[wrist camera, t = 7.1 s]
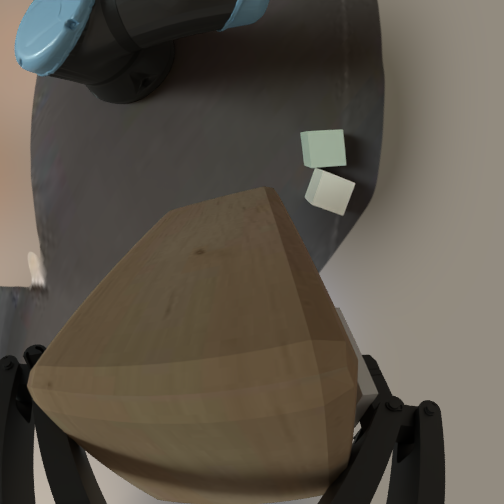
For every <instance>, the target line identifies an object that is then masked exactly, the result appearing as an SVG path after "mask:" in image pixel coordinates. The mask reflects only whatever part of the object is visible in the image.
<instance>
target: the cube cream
mask: <svg viewBox="0 0 504 504" xmlns="http://www.w3.org/2000/svg"><path fill="white" fill-rule="evenodd" d="M354 186H355V183H353V182H351V181H349V180H346V179H344V178H341V177H339V176H336V175H334V174H331V173H329V172H326V171H323V170H321V169H318V168H315V170H314V172H313V175H312V178H311V181H310V184H309V187H308V189H307V192H306V195H305V199H306V200H307V201H308V202H309V203H310V204H311V205H314V206H317V207H320V208H323V209H326V210H328V211H331V212H334V213H337V214H339V215H342V216H343V215H344V212H345V210H346V207H347V204H348V202H349V199H350V197H351V194H352V191H353V189H354Z"/></svg>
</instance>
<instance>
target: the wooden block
mask: <svg viewBox="0 0 504 504" xmlns="http://www.w3.org/2000/svg"><path fill="white" fill-rule="evenodd" d="M357 381H358V358H357V356H356V353H355V351H354V349H353V347H352V344H351V342H350V340H349V337H348V335H347V333H346V331H345V329H344V326H343V324H342V322H341V320H340V318H339V315H338V313H337V311H336V309H335V307H334V305H333V302H332V300H331V298H330V296H329V294H328V292H327V290H326V288H325V286H324V283H323V281H322V280H321V277H320V275H319V273H318V271H317V269H316V267H315V265H314V263H313V261H312V259H311V257H310V255H309V253H308V251H307V249H306V247H305V245H304V243H303V241H302V239H301V237H300V235H299V233H298V231H297V229H296V227H295V226H294V224H293V222H292V220H291V218H290V216H289V214H288V212H287V210H286V208H285V207H284V205H283V203H282V201H281V199H280V197H279V195H278V194H277V193H276V191H275V190H274V188H270V187H260V188H255V189H251V190H247V191H243V192H238V193H234V194H230V195H226V196H222V197H218V198H214V199H211V200H207V201H203V202H199V203H196V204H192V205H188V206H185V207H181V208H177V209H174V210H171V211H169V212H168V213H167V214H166V215H165V216H164V217H162V218H161V219H160V220H159V221H158V222H157V223H156V224H155V225H154V226H153V227H152V228H151V229H150V230H149V231H148V232H147V233H146V234H145V235H144V236H143V237H142V238H141V239H140V240H139V241H138V242H137V243H136V244H135V245H134V246H133V248H132V249H131V250H130V251H129V252H128V253H127V254H126V255H125V256H124V257H123V258H122V259H121V260H120V261H119V262H118V263H117V264H116V266H115V267H114V268H113V269H112V270H111V271H110V272H109V273H108V274H107V275H106V277H105V278H104V279H103V280H102V281H101V282H100V283H99V284H98V286H97V287H96V288H95V289H94V290H93V291H92V292H91V294H90V295H89V296H88V297H87V298H86V299H85V301H84V302H83V303H82V304H81V305H80V307H79V308H78V309H77V310H76V311H75V313H74V314H73V315H72V316H71V318H70V319H69V320H68V321H67V323H66V324H65V325H64V326H63V328H62V329H61V330H60V332H59V333H58V334H57V335H56V337H55V338H54V339H53V341H52V342H51V343H50V345H49V346H48V347H47V349H46V350H45V351H44V353H43V354H42V356H41V357H40V358H39V360H38V361H37V363H36V364H35V365H34V367H33V368H32V370H31V371H30V375H29V379H28V383H27V387H28V390H29V392H30V394H31V396H32V398H33V400H34V401H35V403H36V404H37V405H38V406H39V407H40V408H41V409H42V410H43V411H44V412H45V413H46V414H47V415H48V417H49V418H50V419H51V420H52V421H53V422H54V423H55V424H56V425H58V426H59V427H60V428H61V429H62V430H63V431H64V432H65V433H66V434H67V435H68V436H69V437H70V438H71V439H73V440H74V441H75V442H76V443H77V444H78V445H79V446H81V447H82V448H83V449H84V450H85V451H87V452H88V453H89V454H90V455H92V456H93V457H94V458H95V459H97V460H98V461H99V462H101V463H102V464H103V465H105V466H106V467H107V468H109V469H110V470H112V471H113V472H114V473H116V474H117V475H119V476H120V477H122V478H123V479H125V480H126V481H128V482H129V483H131V484H133V485H134V486H136V487H137V488H139V489H141V490H142V491H144V492H145V493H147V494H149V495H151V496H153V497H154V498H156V499H158V500H163V501H171V502H180V503H191V504H262V503H274V502H282V501H291V500H298V499H304V498H310V497H315V496H320V495H324V493H325V492H326V490H327V488H328V487H329V486H330V485H331V484H332V483H333V482H334V481H335V480H336V479H337V478H338V477H339V476H340V474H341V473H342V472H343V471H344V470H345V469H346V468H347V466H348V463H349V460H350V456H351V449H352V440H353V432H354V423H355V411H356V398H357Z"/></svg>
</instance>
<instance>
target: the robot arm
mask: <svg viewBox="0 0 504 504" xmlns="http://www.w3.org/2000/svg"><path fill="white" fill-rule="evenodd" d="M268 3H269V0H34V1H33V2H32V3H31V5H30V6H29V8H28V10H27V12H26V13H25V15H24V17H23V19H22V21H21V23H20V25H19V28H18V31H17V35H16V40H15V56H16V60H17V62H18V64H19V65H20V66H21V67H22V68H23V69H25V70H27V71H30V72H33V73H36V74H37V75H39V76H51V77H56V78H60V79H65V80H69V81H73V82H78V83H82V84H85V85H86V86H87V87H88V89H89V90H90V92H91V93H92V94H93V95H94V96H95V97H97V98H99V99H100V100H103V101H106V102H110V103H115V104H126V103H131V102H134V101H137V100H139V99H141V98H143V97H145V96H147V95H148V94H150V93H151V92H152V91H154V90H155V89H156V88H157V87H158V86H159V85H160V84H161V83H162V81H163V80H164V79H165V77H166V76H167V74H168V72H169V71H170V68H171V66H172V63H173V59H174V43H173V40H175V39H179V38H183V37H187V36H191V35H195V34H200V33H204V32H209V31H214V30H217V31H218V32H220V31H224V30H226V29H227V28H232V27H237V26H243V25H249V24H252V23H255V22H256V21H257V20H258V19H260V18H261V17H262V16H263V15H264V13H265V11H266V9H267V6H268ZM335 309H336V311H337V313H338V315H339V318H340V320H341V322H342V324H343V326H344V329H345V331H346V333H347V335H348V337H349V340H350V342H351V344H352V347H353V349H354V351H355V353H356V356H357V358H358V381H357V398H356V411H355V423H354V428H355V427H356V425H357V424H358V423H359V421H360V424H361V427H362V428H361V429H360V430H359V431H358V433H357V434H356V435H355V436H354V438H353V439H355V440H354V442H353V444H352V449H351V456H350V460H349V463H348V466H347V468H346V469H345V470H344V471H343V472H342V473H341V474H340V476H339V477H338V478H337V479H336V480H335V481H334V482H333V483H332V484H331V485H330V486H329V487H328V488H327V490H326V492H325V493H324V495H323V496H322V498H321V499H320V501H319V502H318V504H370V502H371V500H372V498H373V496H374V494H375V492H376V490H377V487H378V485H379V483H380V481H381V478H382V476H383V474H384V471H385V469H386V466H387V464H388V461H389V458H390V456H391V453H392V450H393V456H392V466H391V475H390V483H389V490H388V497H387V503H386V504H444V501H445V454H444V440H443V439H444V438H443V427H442V418H441V411H440V408H439V406H438V405H437V404H436V403H435V402H432V401H430V400H426V401H423V402H421V404H420V405H419V406H418V407H417V406H409V405H404V403H403V402H402V401H401V399H399V398H398V397H396V396H392V394H391V392H390V389H389V387H388V385H387V383H386V381H385V379H384V377H383V375H382V373H381V370H379V366H378V364H377V362H376V360H374V359H373V358H372V357H371V356H370V355H361V353H360V350H359V348H358V346H357V344H356V342H355V339H354V338H353V335H352V333H351V331H350V329H349V327H348V325H347V322H346V320H345V318H344V316H343V314H342V312H341V310H340V308H335ZM45 350H46V348H45V347H44V346H42V345H32V346H30V347H29V348H27V349H26V351H25V352H24V355H23V357H24V359H25V361H26V363H27V364H19V362H18V360H17V358H16V357H14V356H11V355H8V356H5V357H3V358H2V359H1V360H0V504H35V493H34V476H33V475H34V474H33V449H34V448H33V447H34V429H35V427H36V433H37V438H38V442H39V448H40V452H41V457H42V461H43V465H44V468H45V472H46V476H47V479H48V482H49V485H50V488H51V492H52V495H53V498H54V501H55V503H56V504H107V503H106V501H105V499H104V497H103V495H102V492H101V490H100V488H99V486H98V483H97V481H96V479H95V476H94V474H93V471H92V469H91V466H90V463H89V461H88V458H87V455H86V452H85V450H84V449H83V448H82V447H81V446H79V445H78V444H77V443H76V442H75V441H74V440H73V439H71V438H70V437H69V436H68V435H67V434H66V433H65V432H64V431H63V430H62V429H61V428H60V427H59V426H58V425H56V424H55V423H54V422H53V421H52V420H51V419H50V418H49V417H48V415H47V414H46V413H45V412H44V411H43V410H42V409H41V408H40V407H39V406H38V405H37V404H36V403H35V401H34V400H33V398H32V396H31V394H30V392H29V390H28V387H27V383H28V379H29V375H30V371H31V370H32V368H33V367H34V365H35V364H36V363H37V361H38V360H39V358H40V357H41V356H42V354H43V353H44V351H45Z"/></svg>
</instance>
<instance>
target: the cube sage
mask: <svg viewBox="0 0 504 504" xmlns="http://www.w3.org/2000/svg"><path fill="white" fill-rule="evenodd" d="M301 141H302V150H303V158H304V165H305V166H308V167H310V168H317V167H330V166H345V165H346V156H345V145H344V135H343V130H322V131H307V132H302V133H301Z"/></svg>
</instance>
